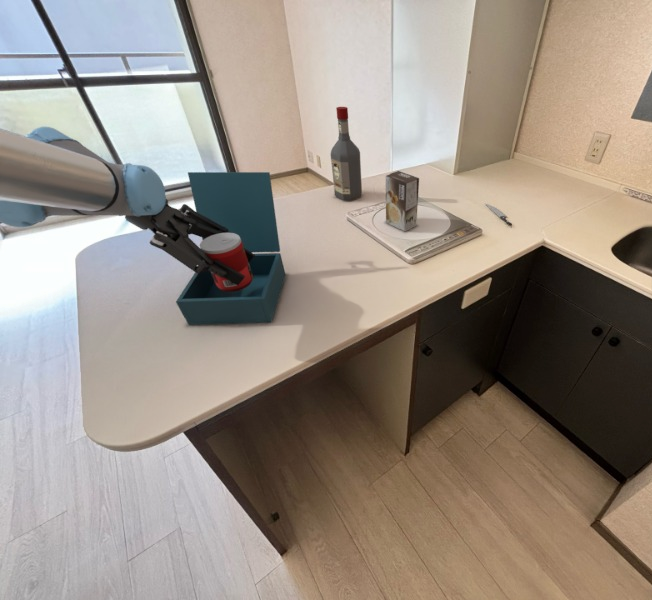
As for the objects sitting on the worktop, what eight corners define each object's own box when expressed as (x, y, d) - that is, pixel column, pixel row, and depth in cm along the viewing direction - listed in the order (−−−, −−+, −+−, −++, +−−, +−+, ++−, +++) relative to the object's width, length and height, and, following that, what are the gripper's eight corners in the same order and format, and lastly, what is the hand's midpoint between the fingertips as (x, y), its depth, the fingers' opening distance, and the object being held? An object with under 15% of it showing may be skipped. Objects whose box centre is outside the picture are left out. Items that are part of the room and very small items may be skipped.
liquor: (350, 189, 131) (344, 103, 111) (365, 196, 126) (361, 108, 106) (331, 195, 126) (322, 107, 106) (347, 203, 121) (339, 112, 101)
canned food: (260, 279, 77) (248, 238, 70) (231, 297, 72) (214, 255, 65) (239, 268, 80) (225, 228, 73) (210, 285, 75) (191, 243, 68)
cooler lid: (268, 172, 75) (274, 172, 79) (187, 172, 73) (197, 172, 77) (279, 251, 81) (283, 248, 86) (205, 253, 80) (213, 249, 84)
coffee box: (417, 225, 109) (420, 177, 99) (404, 232, 106) (406, 183, 95) (397, 216, 114) (398, 170, 103) (384, 222, 110) (384, 175, 100)
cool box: (271, 322, 73) (264, 298, 69) (188, 325, 72) (175, 301, 67) (285, 275, 86) (280, 253, 82) (216, 276, 85) (206, 254, 80)
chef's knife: (491, 203, 125) (484, 203, 124) (492, 200, 124) (485, 200, 123) (517, 226, 111) (509, 227, 110) (518, 223, 110) (510, 224, 109)
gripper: (153, 194, 71) (249, 254, 83) (95, 243, 56) (223, 309, 68) (168, 169, 68) (266, 236, 80) (111, 214, 53) (242, 288, 65)
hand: (246, 269), depth 74 cm, fingers closed on canned food, 8 cm apart
